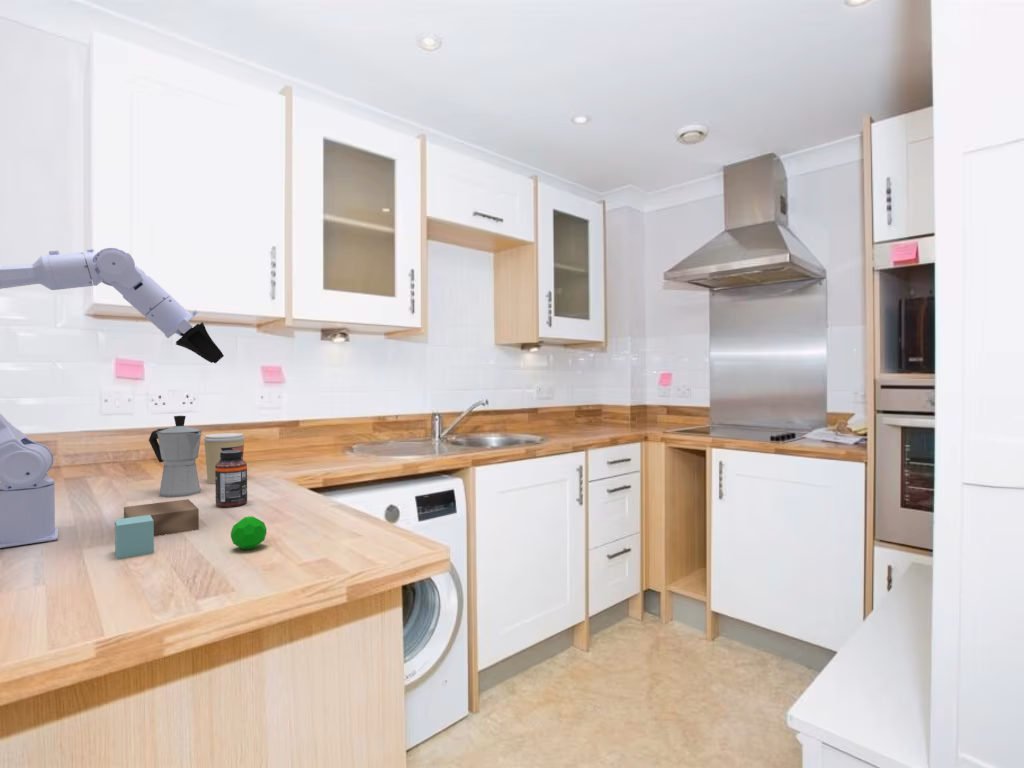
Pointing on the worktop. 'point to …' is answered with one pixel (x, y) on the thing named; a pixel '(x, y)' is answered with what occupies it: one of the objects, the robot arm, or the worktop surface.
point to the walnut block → (168, 516)
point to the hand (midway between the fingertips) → (217, 359)
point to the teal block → (134, 536)
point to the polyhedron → (248, 533)
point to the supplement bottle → (231, 479)
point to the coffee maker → (177, 458)
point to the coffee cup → (220, 449)
